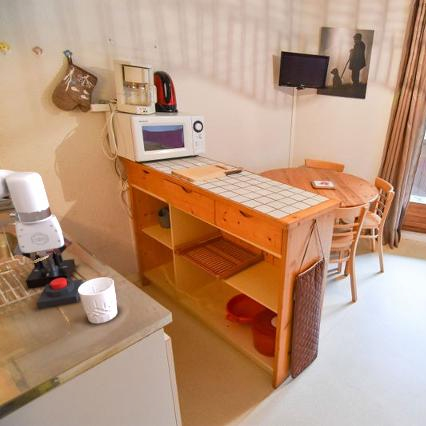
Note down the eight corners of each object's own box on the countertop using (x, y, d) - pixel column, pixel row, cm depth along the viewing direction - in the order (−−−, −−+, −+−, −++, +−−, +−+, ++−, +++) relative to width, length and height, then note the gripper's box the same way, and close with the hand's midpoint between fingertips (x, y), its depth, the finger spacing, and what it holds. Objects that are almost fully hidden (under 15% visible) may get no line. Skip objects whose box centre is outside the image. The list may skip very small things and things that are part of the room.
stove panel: (27, 288, 96) (24, 280, 95) (38, 271, 104) (36, 263, 103) (68, 282, 100) (66, 274, 99) (75, 266, 108) (73, 258, 107)
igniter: (38, 308, 89) (34, 297, 87) (48, 290, 96) (44, 279, 94) (77, 302, 92) (74, 291, 91) (84, 284, 100) (81, 274, 98)
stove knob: (42, 273, 98) (36, 256, 96) (43, 267, 101) (38, 250, 99) (58, 270, 100) (53, 253, 98) (59, 264, 103) (54, 247, 101)
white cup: (102, 328, 84) (94, 297, 80) (78, 321, 86) (70, 290, 82) (126, 309, 91) (120, 280, 87) (104, 303, 93) (97, 274, 89)
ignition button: (50, 290, 91) (48, 285, 90) (53, 283, 94) (52, 278, 93) (65, 288, 92) (64, 283, 91) (68, 281, 95) (67, 276, 94)
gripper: (-8, 223, 86) (12, 280, 93) (69, 214, 95) (82, 265, 102) (-2, 213, 92) (16, 267, 99) (70, 205, 101) (82, 255, 108)
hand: (50, 266), depth 100 cm, fingers closed on stove knob, 4 cm apart
